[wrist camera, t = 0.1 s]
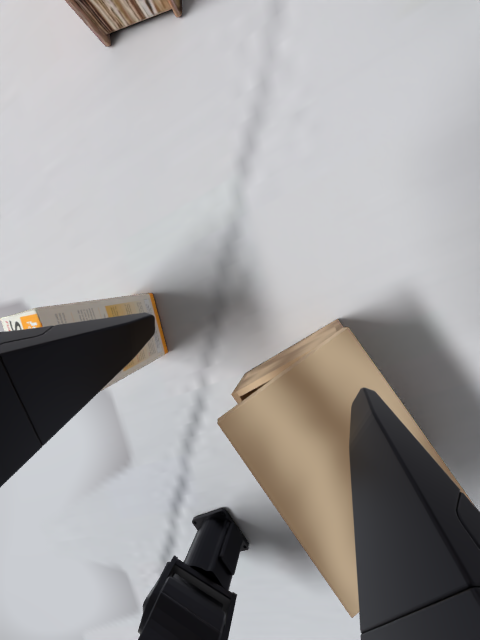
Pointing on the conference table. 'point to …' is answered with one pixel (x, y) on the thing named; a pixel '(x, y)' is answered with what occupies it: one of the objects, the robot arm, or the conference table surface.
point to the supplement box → (97, 311)
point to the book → (119, 13)
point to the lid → (315, 450)
